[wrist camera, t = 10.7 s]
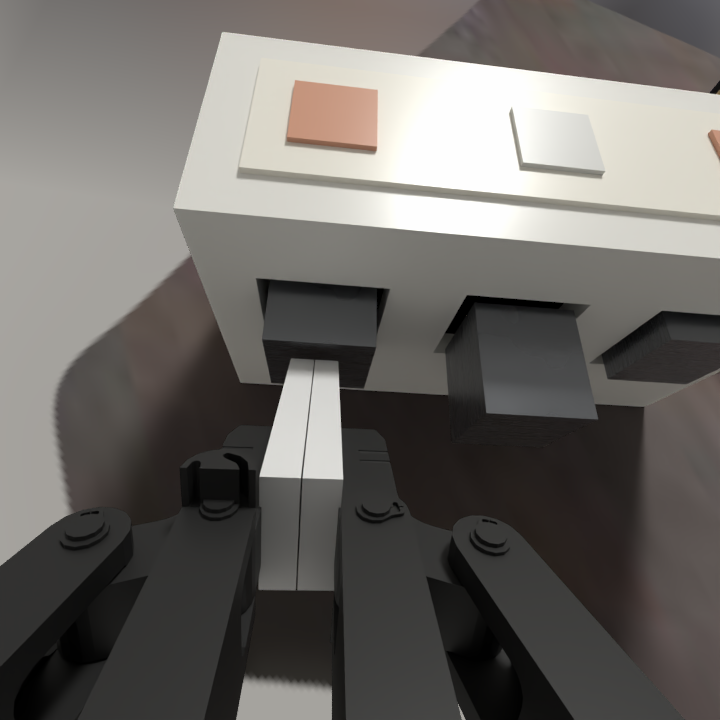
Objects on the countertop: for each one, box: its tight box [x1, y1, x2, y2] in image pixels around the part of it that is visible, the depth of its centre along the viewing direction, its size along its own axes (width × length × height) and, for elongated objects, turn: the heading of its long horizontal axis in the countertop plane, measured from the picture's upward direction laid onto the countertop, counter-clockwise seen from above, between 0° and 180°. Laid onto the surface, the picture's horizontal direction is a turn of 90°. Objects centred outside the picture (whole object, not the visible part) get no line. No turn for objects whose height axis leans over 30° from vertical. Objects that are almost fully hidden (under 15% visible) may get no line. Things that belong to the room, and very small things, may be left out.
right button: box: [601, 311, 720, 384], centre depth 18 cm, size 4×4×4 cm
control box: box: [173, 32, 720, 407], centre depth 19 cm, size 8×22×12 cm, turn 89°
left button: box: [262, 279, 377, 389], centre depth 16 cm, size 4×4×4 cm
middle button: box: [445, 302, 598, 448], centre depth 16 cm, size 4×4×4 cm
